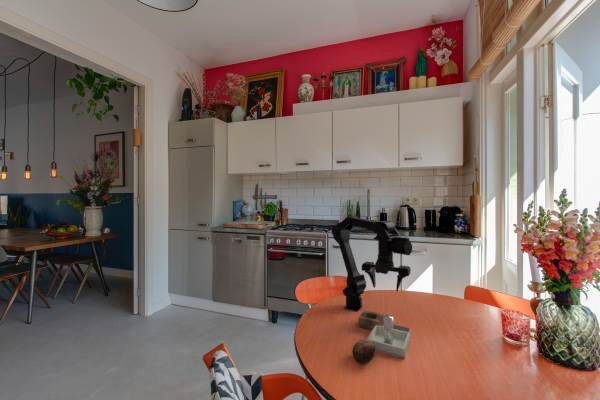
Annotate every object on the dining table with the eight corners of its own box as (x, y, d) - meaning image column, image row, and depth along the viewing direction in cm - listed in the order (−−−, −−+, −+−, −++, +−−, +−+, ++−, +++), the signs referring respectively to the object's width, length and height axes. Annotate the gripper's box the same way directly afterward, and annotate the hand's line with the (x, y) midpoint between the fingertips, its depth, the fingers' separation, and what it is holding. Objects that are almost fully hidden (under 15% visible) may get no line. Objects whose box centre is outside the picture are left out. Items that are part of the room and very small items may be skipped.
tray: (366, 348, 91) (366, 339, 91) (375, 333, 101) (375, 325, 101) (404, 358, 85) (404, 349, 85) (410, 341, 95) (409, 332, 95)
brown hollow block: (358, 327, 105) (358, 317, 105) (364, 319, 112) (364, 310, 112) (379, 332, 102) (379, 322, 102) (383, 324, 108) (383, 314, 108)
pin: (383, 343, 92) (383, 316, 93) (385, 339, 95) (385, 314, 95) (392, 345, 91) (392, 318, 91) (394, 342, 93) (394, 315, 94)
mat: (386, 332, 102) (386, 331, 102) (390, 324, 108) (390, 323, 108) (406, 337, 98) (406, 335, 98) (409, 328, 104) (409, 327, 104)
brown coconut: (382, 346, 86) (371, 331, 85) (381, 369, 79) (369, 354, 78) (360, 351, 90) (350, 338, 89) (358, 374, 83) (346, 359, 82)
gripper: (357, 252, 110) (357, 291, 110) (406, 257, 100) (406, 299, 100) (365, 248, 119) (365, 283, 119) (410, 252, 110) (410, 290, 110)
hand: (385, 289), depth 112 cm, fingers open, 9 cm apart
